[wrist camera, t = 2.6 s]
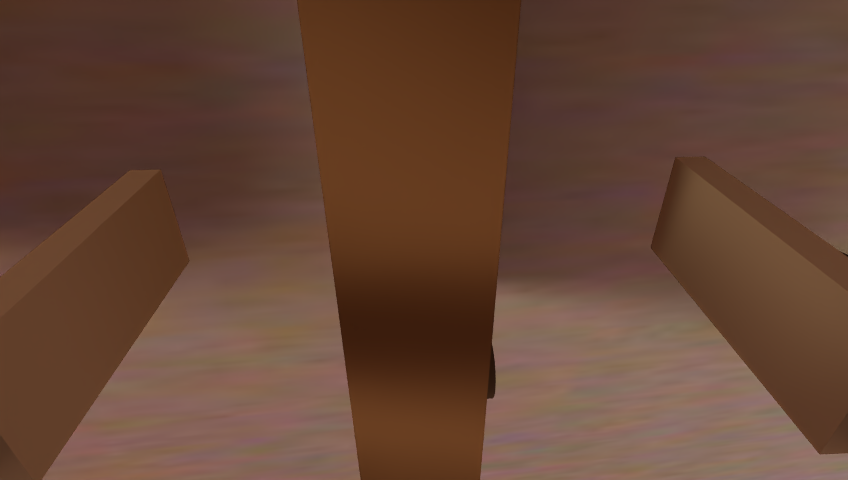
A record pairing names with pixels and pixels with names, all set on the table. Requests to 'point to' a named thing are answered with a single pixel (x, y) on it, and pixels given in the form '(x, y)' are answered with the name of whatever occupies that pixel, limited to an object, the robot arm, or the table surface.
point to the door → (414, 216)
